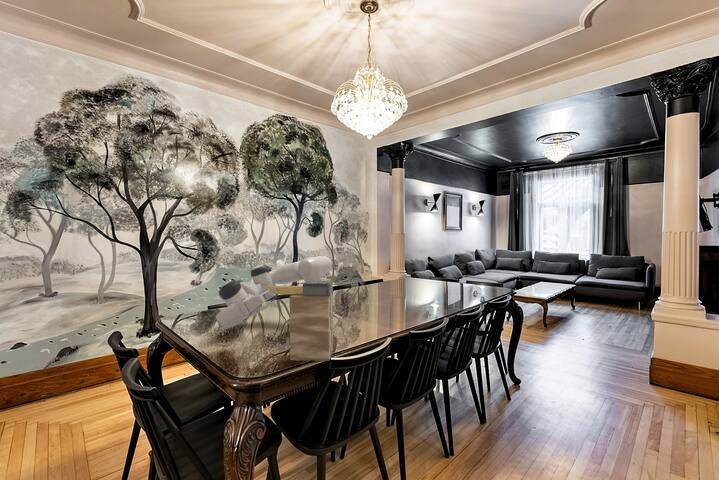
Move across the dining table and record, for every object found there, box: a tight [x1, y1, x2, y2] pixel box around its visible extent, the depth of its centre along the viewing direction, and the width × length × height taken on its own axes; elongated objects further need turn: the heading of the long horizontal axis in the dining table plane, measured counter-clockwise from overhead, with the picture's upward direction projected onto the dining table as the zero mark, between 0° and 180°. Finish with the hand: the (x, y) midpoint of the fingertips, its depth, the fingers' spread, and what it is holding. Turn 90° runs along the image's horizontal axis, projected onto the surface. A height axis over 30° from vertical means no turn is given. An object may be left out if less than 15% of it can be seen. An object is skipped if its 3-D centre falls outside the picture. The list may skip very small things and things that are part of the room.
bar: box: [269, 285, 303, 295], centre depth 136 cm, size 3×24×3 cm, turn 87°
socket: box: [302, 280, 334, 296], centre depth 136 cm, size 8×11×5 cm
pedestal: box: [289, 293, 334, 362], centre depth 136 cm, size 12×16×26 cm
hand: (278, 288), depth 137 cm, fingers closed on bar, 3 cm apart
